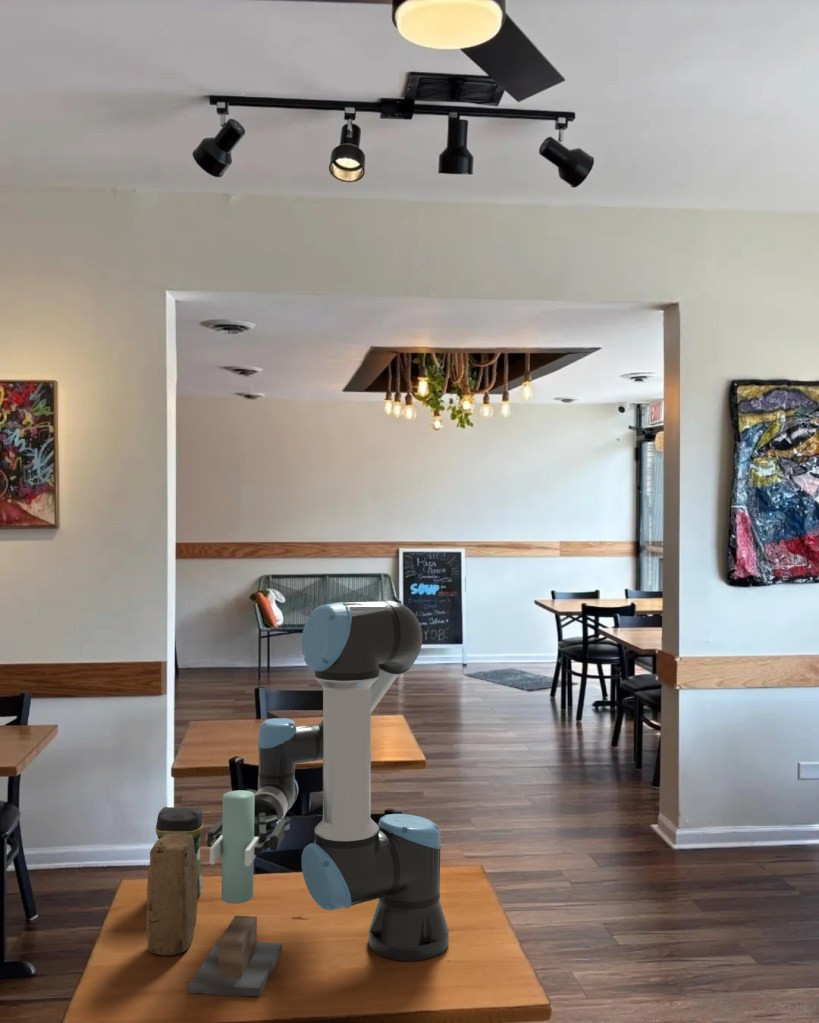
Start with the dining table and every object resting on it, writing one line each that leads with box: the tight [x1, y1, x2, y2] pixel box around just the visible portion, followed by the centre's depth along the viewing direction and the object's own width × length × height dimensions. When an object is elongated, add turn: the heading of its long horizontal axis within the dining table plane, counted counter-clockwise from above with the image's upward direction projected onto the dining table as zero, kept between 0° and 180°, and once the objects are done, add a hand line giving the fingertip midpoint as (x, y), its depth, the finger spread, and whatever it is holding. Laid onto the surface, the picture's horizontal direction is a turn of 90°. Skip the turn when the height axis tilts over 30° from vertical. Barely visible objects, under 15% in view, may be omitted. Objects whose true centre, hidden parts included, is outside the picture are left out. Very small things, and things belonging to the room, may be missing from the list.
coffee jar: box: [155, 806, 204, 898], centre depth 189 cm, size 10×8×19 cm
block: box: [146, 833, 198, 956], centre depth 168 cm, size 11×8×20 cm
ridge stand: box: [188, 915, 283, 998], centre depth 158 cm, size 16×12×8 cm
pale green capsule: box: [221, 789, 255, 905], centre depth 159 cm, size 6×6×18 cm
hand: (229, 857), depth 154 cm, fingers closed on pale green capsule, 5 cm apart
